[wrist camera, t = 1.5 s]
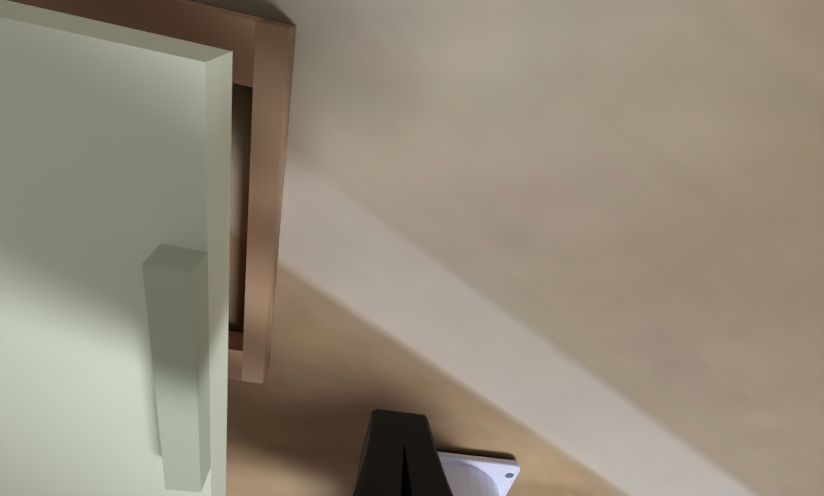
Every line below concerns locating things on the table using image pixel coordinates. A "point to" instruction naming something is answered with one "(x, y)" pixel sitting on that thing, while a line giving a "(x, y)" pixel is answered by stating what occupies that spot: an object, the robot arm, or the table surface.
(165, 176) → the cover
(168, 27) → the brown wooden frame
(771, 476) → the table surface
